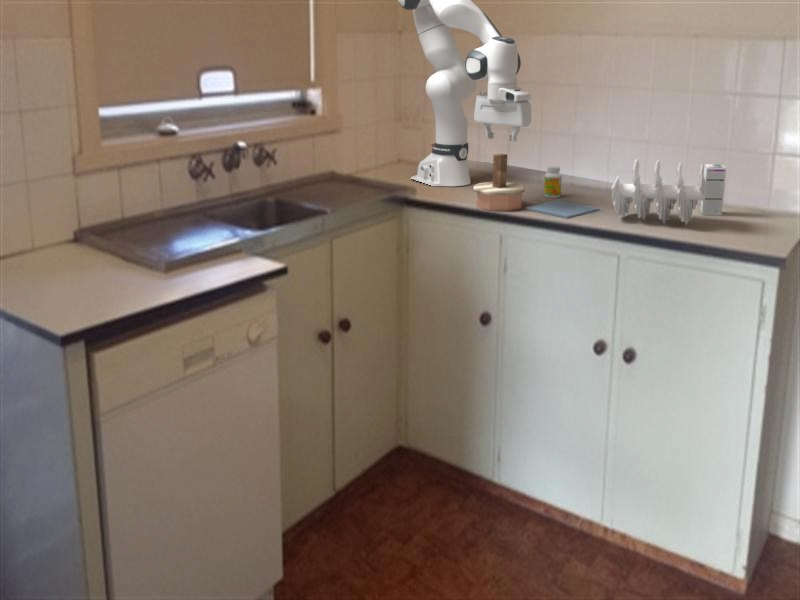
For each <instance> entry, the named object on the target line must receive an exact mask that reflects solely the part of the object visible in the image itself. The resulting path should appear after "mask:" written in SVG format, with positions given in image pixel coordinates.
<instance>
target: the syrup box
mask: <svg viewBox="0 0 800 600" xmlns="http://www.w3.org/2000/svg"><path fill="white" fill-rule="evenodd" d="M726 175H727V167H726V166H725V165H724V164H719V163H708V164H706V163H705V164H704V179H705V197H704V201H700V207H699V211H700V213H701V215H702V216H710V217H711V216H712V217H713V216H714V217H715V216H716V217H717V216H718V217H721V216H722V214H723V205H724V198H725V197H724V195H725V186H726Z"/></svg>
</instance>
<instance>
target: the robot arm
mask: <svg viewBox="0 0 800 600" xmlns="http://www.w3.org/2000/svg"><path fill="white" fill-rule="evenodd" d="M397 1H398V4H399V5H400V7H401V8H403V10H406V11H407V10H408V11H412V13H413V21H414V26H415V29H416V33H417V37H418V39H419V42H420V44H421V48H422V50H423V54H424V57H425V59H426V61H428V62H429V63H430V64H431V66H433V68H434V70H435V71H436V72H434V73H433V74H431V75H430V76H429V78H428V79H427V81H426V83H425V93H426V94H427V97H428V99H430V101H431V105H432V109H433V113H434V119H435V123H434V124H435V141H434V143H430V144H429V148H432V149H431V152H430V154H428V155H427V156H426V157H425V158H423V159H422V160H421V161H420V162H419V163H418V166H417V174H416V175H413V176H411V177H410V180H411V179H414V180H416V181H419V182H422V183H421V184H423V183H425V184H424V185H426V184H428V185H427V186H429V185H431V186H430V187H463V186H468V185H470V184H472V182H471V181H472V180H471V176H470V171H469V170H470V169H469V159H468V156H469V155H468V154H469V149H470V148H469V147H470V146H469V142H468V124H469V122H468V118H467V117H466V114H465V111H464V108H463V101H465V100H467V99H468V98H470V97H472V95H474V93H475V92H476V91H477V90H478V85H479V83H478V81H479V82H483V81H484V82H485V81H486V82H487V92H485V91H480V92H479V93H478V94H477V95H476V96H475V97H476V101H475V106H474V112H473V113H474V114H473V119H474V121H475V123H477V124H483V125H482V126H483V128H484V131H485V136H486V139H488V140H489V139H490V140H491V139H494V137H495V136H494V134H495V133H494V132H493V131H492V129H491V127H492V125H496V126H497V125H498V126H507V127H511V130H512V133H511V134H510V135H509V136H508V137H509V141H510V142H517V140H518V135H519V133H520V131H521V128H526V127H529V126H530V125H531V123H532V106H531V103H530V102H529V101H530V100H531V99H532V97H531V93H530V92H529V91H527V90H524V89H523V88H521V87H519V86H518V79H517V75H518V73H519V71H520V70H521V65H522V64H521V63H522V62H521V56H520V54H519V52H518V45H517V42H516V40H514V39H513V38H511V37H508V36H503V35H502V33H500V31H499V30H498V28H497V27H496V26H495V24H494V23H493V22H492V20H491V19H490V18H489V17H488V15H487V14H486V13H485V12H484V11H483V10H482V9H481V8H479V7H478V6H477V5H476V4H475V3H474V2H473V1H472V0H397ZM451 28H454V29H458V30H462V31H465V32H468V33H471V34H473V35H474V36H476V37H477V38H478V39H479V40H480V42H482V44H483V45H482V46H480V47H478V48H477V47H476V48H475V49H472V50H470V51H469V52H468V53H467V55H466V57H465V59H464V58H463V55H462V53H461V52H460V51H459V48H458V46H457V43H456V41H455V38H454V37H455V36H454V35H453V32H452V29H451ZM416 181H415V182H416ZM419 182H418V183H419Z"/></svg>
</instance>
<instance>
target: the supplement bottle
mask: <svg viewBox="0 0 800 600" xmlns="http://www.w3.org/2000/svg"><path fill="white" fill-rule="evenodd" d="M560 170H561V166H560V165H548V166H547V172H546V173H545V174H544V186H543V187H544V188H543V196H544V197H546V198H553V199H554V198H559V197H561V196H562V195H561V191H562V174H561V173H560Z"/></svg>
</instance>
